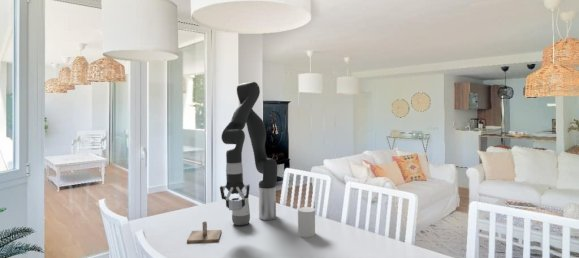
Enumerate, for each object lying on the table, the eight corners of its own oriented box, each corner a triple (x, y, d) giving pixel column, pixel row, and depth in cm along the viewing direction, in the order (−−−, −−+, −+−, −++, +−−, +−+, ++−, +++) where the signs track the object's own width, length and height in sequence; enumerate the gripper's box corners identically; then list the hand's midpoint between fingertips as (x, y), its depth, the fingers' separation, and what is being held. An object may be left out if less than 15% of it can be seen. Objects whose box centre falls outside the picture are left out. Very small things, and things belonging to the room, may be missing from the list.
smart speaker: (239, 220, 182) (239, 194, 181) (253, 222, 178) (253, 196, 177) (228, 225, 174) (228, 198, 173) (242, 228, 169) (242, 200, 168)
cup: (316, 232, 163) (316, 207, 162) (312, 238, 155) (312, 212, 155) (300, 230, 166) (300, 206, 165) (295, 236, 158) (295, 211, 157)
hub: (242, 206, 160) (242, 197, 160) (241, 210, 154) (241, 200, 154) (229, 207, 159) (229, 197, 159) (228, 210, 153) (228, 201, 153)
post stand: (221, 232, 164) (221, 216, 163) (218, 241, 152) (218, 225, 151) (192, 233, 163) (191, 217, 162) (187, 243, 151) (186, 226, 150)
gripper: (250, 169, 160) (251, 204, 161) (219, 170, 159) (220, 205, 160) (249, 172, 153) (251, 209, 154) (217, 174, 151) (219, 210, 152)
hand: (235, 207), depth 157 cm, fingers closed on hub, 6 cm apart
